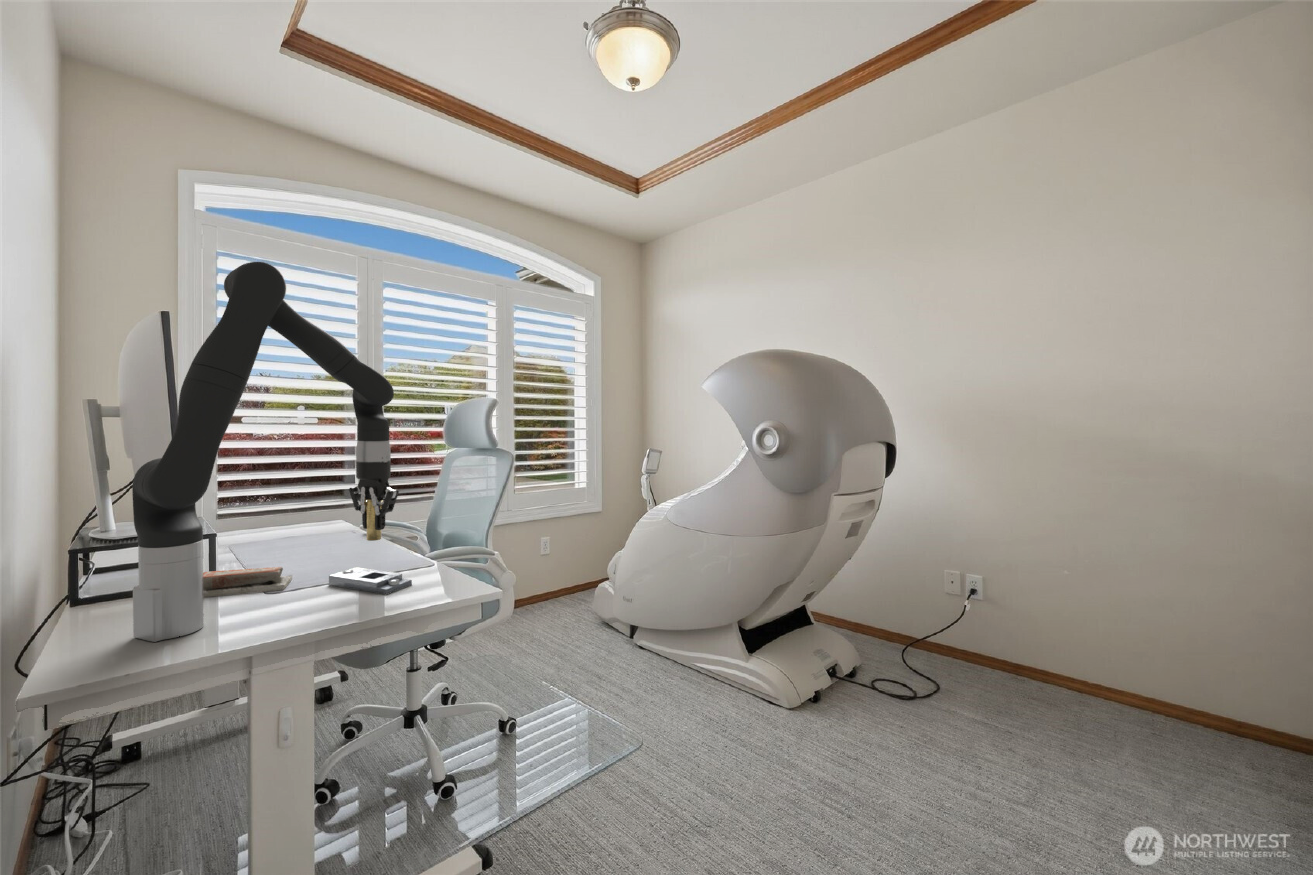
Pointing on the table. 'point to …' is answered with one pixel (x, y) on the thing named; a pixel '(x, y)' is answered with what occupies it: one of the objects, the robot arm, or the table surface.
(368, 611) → the table surface
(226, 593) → the packaged product
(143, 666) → the table surface
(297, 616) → the table surface
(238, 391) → the robot arm
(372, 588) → the grey plate with window
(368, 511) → the brass pin
